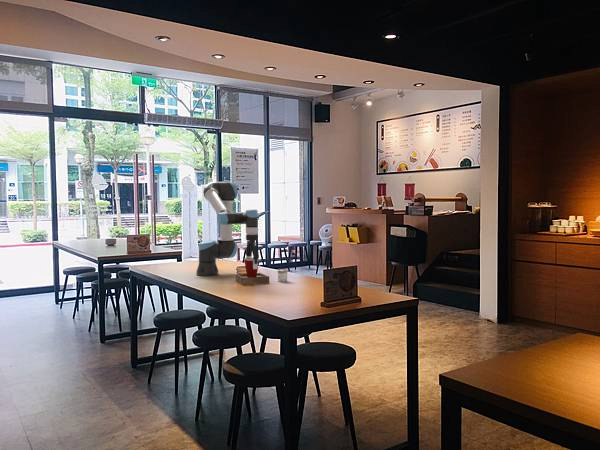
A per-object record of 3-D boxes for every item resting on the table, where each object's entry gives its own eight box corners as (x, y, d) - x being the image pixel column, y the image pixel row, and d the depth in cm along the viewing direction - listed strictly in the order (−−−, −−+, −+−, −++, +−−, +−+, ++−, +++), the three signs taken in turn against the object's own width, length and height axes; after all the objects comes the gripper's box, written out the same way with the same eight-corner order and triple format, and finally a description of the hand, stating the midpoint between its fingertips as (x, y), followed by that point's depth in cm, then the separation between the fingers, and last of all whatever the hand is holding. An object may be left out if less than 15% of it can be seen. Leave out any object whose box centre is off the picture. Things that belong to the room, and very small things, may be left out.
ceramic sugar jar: (276, 280, 328) (276, 269, 328) (285, 280, 331) (285, 269, 330) (279, 282, 322) (279, 271, 322) (289, 281, 324) (289, 270, 324)
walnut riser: (235, 280, 327) (235, 274, 327) (260, 279, 334) (260, 272, 334) (243, 285, 312) (242, 278, 311) (269, 283, 318) (269, 276, 318)
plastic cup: (259, 278, 317) (259, 259, 316) (242, 278, 317) (242, 259, 317) (261, 276, 328) (261, 257, 327) (244, 276, 328) (244, 257, 328)
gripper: (263, 235, 311) (264, 269, 312) (251, 232, 334) (252, 265, 335) (252, 235, 308) (252, 270, 309) (240, 233, 331) (240, 265, 332)
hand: (252, 267), depth 322 cm, fingers open, 13 cm apart
